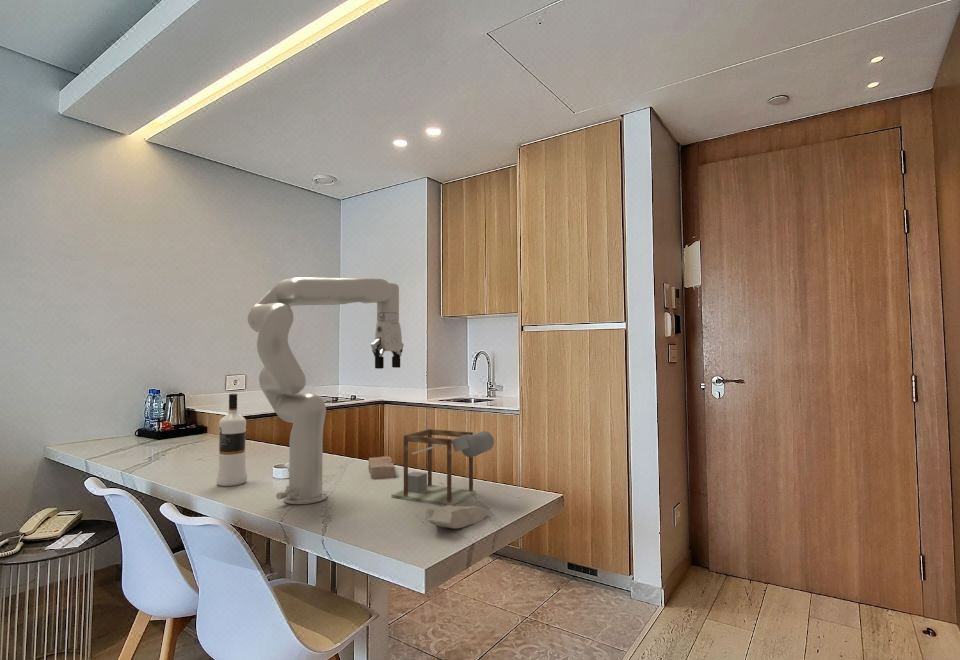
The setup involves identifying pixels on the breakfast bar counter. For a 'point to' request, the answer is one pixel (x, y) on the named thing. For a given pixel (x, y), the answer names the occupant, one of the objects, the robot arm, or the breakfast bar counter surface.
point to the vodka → (232, 447)
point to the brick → (381, 467)
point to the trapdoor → (470, 444)
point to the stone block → (417, 482)
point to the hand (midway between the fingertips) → (387, 368)
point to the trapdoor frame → (432, 492)
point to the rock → (456, 516)
